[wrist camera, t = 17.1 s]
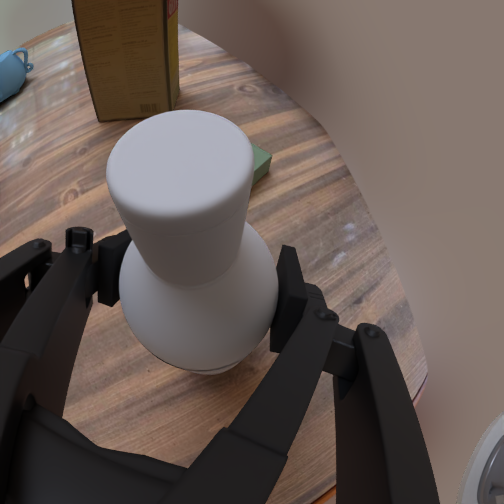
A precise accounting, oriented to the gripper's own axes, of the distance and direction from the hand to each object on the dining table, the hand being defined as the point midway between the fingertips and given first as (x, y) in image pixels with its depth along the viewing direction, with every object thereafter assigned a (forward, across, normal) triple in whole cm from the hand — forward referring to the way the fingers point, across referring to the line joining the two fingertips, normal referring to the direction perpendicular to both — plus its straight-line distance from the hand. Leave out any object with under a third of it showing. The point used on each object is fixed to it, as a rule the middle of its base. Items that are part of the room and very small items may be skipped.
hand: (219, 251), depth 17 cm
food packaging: (+30, -22, +12) cm, 39 cm away
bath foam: (+4, 0, -9) cm, 9 cm away
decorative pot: (+34, -70, +16) cm, 80 cm away
